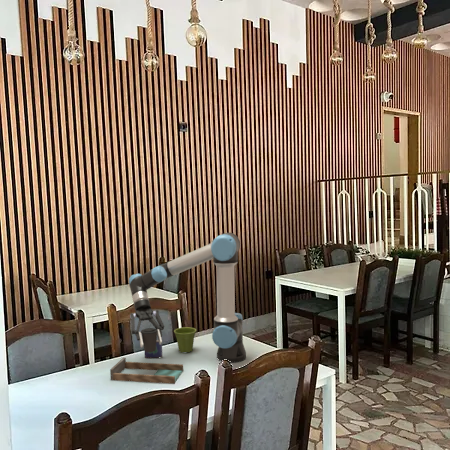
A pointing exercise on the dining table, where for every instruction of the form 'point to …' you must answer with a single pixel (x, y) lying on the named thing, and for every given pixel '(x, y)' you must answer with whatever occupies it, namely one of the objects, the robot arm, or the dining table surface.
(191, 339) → the plant pot
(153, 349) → the coffee cup
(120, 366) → the tray
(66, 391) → the dining table surface
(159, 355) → the flask
